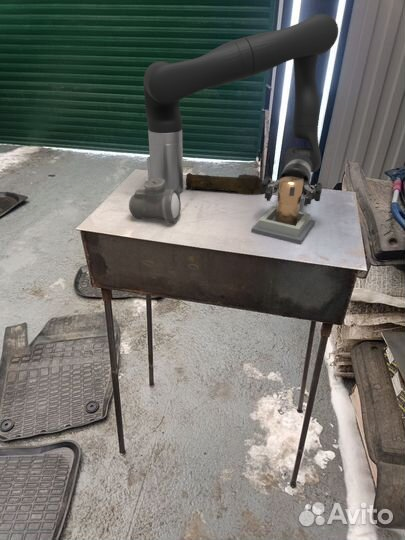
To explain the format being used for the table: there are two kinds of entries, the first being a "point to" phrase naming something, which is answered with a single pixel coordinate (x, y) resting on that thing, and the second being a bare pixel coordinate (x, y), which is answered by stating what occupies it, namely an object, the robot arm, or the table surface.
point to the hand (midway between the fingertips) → (287, 199)
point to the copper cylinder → (289, 200)
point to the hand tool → (225, 183)
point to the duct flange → (283, 227)
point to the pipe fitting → (156, 201)
